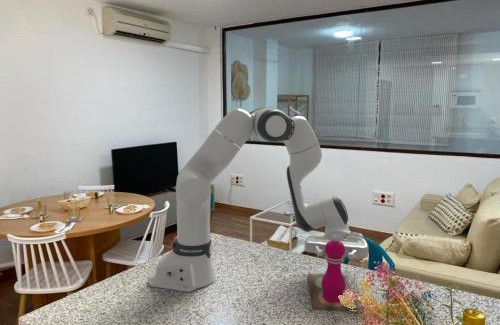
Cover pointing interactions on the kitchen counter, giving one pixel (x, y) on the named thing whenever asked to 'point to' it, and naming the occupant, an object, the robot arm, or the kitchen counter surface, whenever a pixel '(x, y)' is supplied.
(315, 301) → the colour board
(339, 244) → the pepper mill
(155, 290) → the kitchen counter surface
